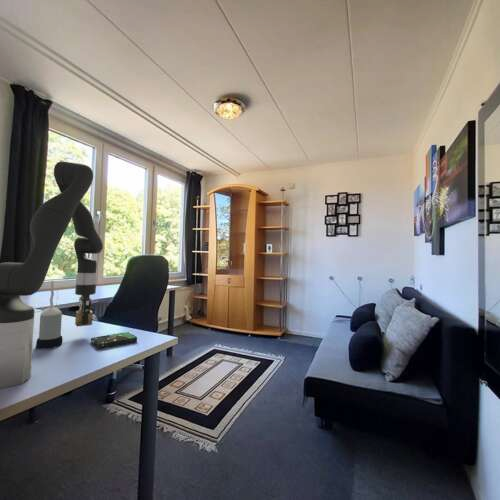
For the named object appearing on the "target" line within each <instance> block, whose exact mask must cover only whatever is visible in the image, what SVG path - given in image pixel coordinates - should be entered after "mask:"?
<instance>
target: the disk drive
mask: <svg viewBox="0 0 500 500" xmlns="http://www.w3.org/2000/svg"><path fill="white" fill-rule="evenodd" d="M134 342H137V343H138V337H137V336H136V335H135V334H133V333H130V332H129V331H128V332H119V333H113V334H108V335H107V334H106V335H101V336H94V337H91V339H90V344H91V345H92V346H93V347H94V348H95V349H96V350H97V351H100V350H105V349H106V350H107V349H110V348H115V347H119V346H120V347H121V346H126V345H131V344H130V343H132V344H135V343H134Z"/></svg>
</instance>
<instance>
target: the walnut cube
mask: <svg viewBox="0 0 500 500" xmlns="http://www.w3.org/2000/svg"><path fill="white" fill-rule="evenodd" d="M86 311H87V310H85V312H86ZM93 314H94V312H93V310H91V309H90V314H89V315H88V324H82V311H80V310H76V311H75V323H74V325H75V326H76V327H77V328H78V327H85V326H93Z"/></svg>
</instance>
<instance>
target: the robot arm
mask: <svg viewBox="0 0 500 500" xmlns="http://www.w3.org/2000/svg"><path fill="white" fill-rule="evenodd" d="M53 177H54V179H55V182H56V186H57V187H58V191H60V193H59V194H57V195H55V196H53V197H51V198H49V199H48V200H46V201H45V202H43V203H42V204H41V205H40V206H39V207H38V209H37V210H36V212H35V213H34V215H33V217H32V219H31V221H30V223H29V231H30V236H31V239H32V249H31V251H30V253H29V255H28V256H27V259H26V260H25V261H24V262H9V261H8V262H0V389H3V388H7V387H13V386H17V385H22V384H24V383H25V382H26V381H27V380H29V379H30V378H31V374H32V356H33V340H34V339H33V337H34V325H35V322H34V320H35V308H34V307H32V306H31V305H29V304H27V303H25V302H24V301H23V300H22V299H21V297H23V296H25V297H26V296H27V297H28V296H32V295H34V294H36V293H37V292H38V291H39V290H40V288H41V287H42V285H44V282H45V279H46V277H47V273H48V271H49V269H50V266H51V263H52V260H53V257H54V255H55V252H56V251H57V248H58V246H59V244H60V242H61V240H62V237H63V236H64V234H65V232H66V230H67V228H68V226H69V225H70V223H71V220H72V223H73V228H74V230H75V231H74V233H76V235H77V236H78V237H77V238H76V239H75V240H74V243H73V247H74V251H75V256H76V261H77V273H76V276H75V277H76V278H75V291H74V294H75V295H77V296H79V299H78V302H79V304H78V311H82V324H88V315H89V314H90V310H91V306H92V299H91V298H90V296H91V295H95V294H96V290H97V267H98V262H97V260H96V259H92V258H89V257H87V255H86V254H93V255H94V254H96V255H97V254H100V253H101V252H102V251H103V248H104V247H103V246H104V245H103V241H102V239H101V237H100V235H99V234H98V232H97V230H96V228H95V225H94V219H93V216H92V214H91V212H90V210H89V209H88V207H87V206H86V205H85V204H84V203H83V202H82V200H83V198H84V196H85V195H86V194H87V192H88V190H89V189H90V187H92V186H91V185H92V183H93V179H94V171H93V169H92V168H91V166H90V165H87V164H83V163H80V162H70V161H66V160H65V161H62V160H61V161H58V162H56V164H55V165H54V167H53ZM85 310H87V311H86V312H85Z"/></svg>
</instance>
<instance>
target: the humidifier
mask: <svg viewBox="0 0 500 500" xmlns="http://www.w3.org/2000/svg"><path fill="white" fill-rule="evenodd" d="M54 284H55V283H54V280H51V282H50V298H49V307H47V308H46V309H44V310H42V311H41V313H40V317H39V329H38V330H39V331H38V338H36V343H35V349H38V350H49V349H55V348H58V347H60V346H62V345H63V341H64V340H63V338H64V337H63V336H62V335H61V334H62V317H63V315H62V311H61V309H59V308H57V306H58V303H56V306H54V301H53V299H54V295H55V291H54ZM58 286H59V285H57V287H56V291H58V290H59V289H58ZM58 298H59V294H58V293H57V297H56V299H58Z"/></svg>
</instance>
